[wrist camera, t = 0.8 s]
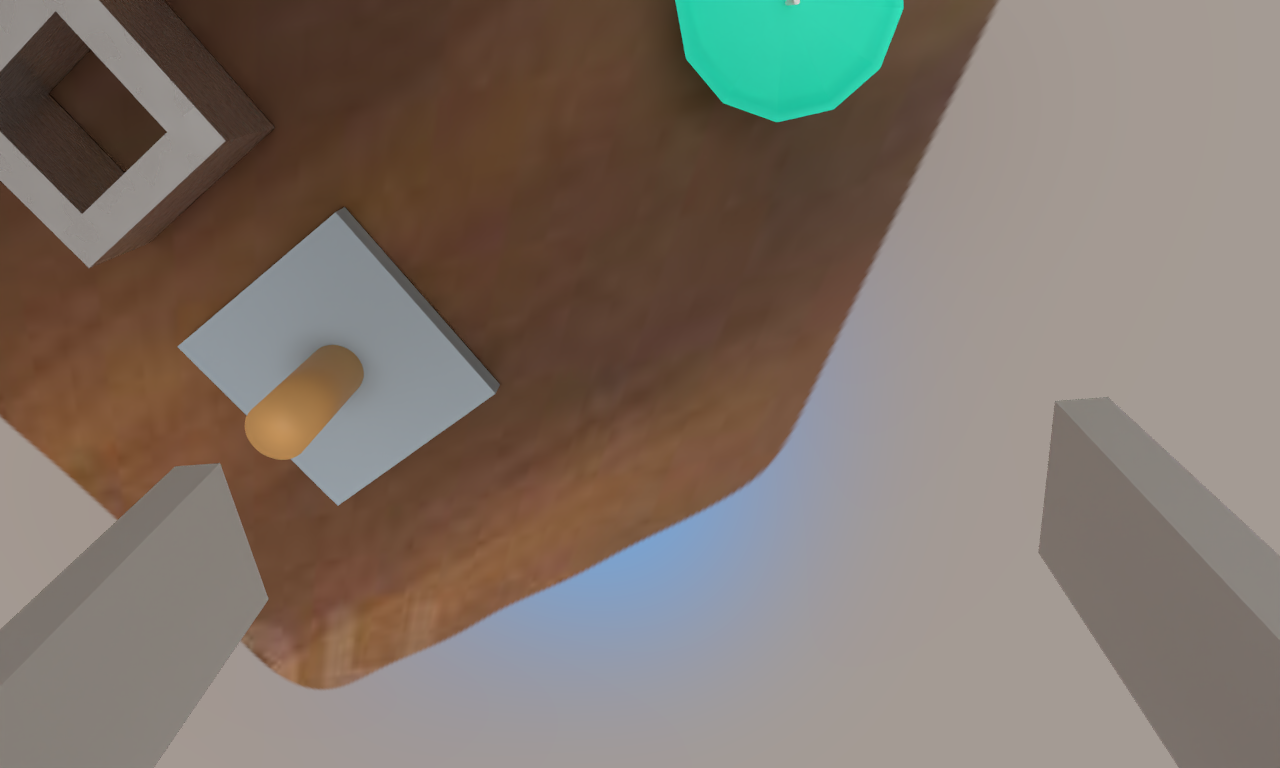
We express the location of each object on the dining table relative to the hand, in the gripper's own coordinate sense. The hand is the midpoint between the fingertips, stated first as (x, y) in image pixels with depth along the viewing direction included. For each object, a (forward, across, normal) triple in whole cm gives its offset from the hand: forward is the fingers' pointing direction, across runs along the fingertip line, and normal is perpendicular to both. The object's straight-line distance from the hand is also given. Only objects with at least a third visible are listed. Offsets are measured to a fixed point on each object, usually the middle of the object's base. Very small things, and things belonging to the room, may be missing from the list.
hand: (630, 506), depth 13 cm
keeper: (+23, -15, -6) cm, 28 cm away
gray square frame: (+23, -21, +6) cm, 32 cm away
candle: (+23, +4, +7) cm, 25 cm away
